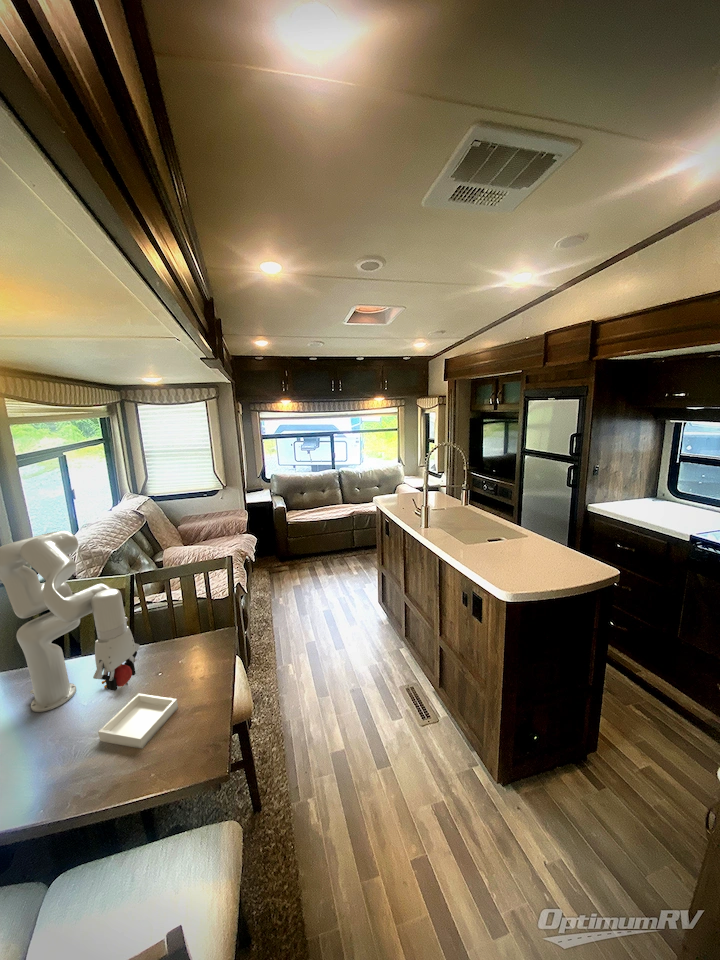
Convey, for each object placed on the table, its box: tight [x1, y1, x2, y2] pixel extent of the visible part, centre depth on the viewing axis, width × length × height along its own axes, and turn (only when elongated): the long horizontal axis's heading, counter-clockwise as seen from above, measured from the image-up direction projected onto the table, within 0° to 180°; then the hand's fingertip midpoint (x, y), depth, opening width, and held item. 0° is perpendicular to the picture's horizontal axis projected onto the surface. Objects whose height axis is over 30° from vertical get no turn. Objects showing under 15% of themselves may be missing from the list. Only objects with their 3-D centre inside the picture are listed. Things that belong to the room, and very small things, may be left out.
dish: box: [98, 693, 179, 750], centre depth 117 cm, size 16×16×4 cm
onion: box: [114, 663, 133, 688], centre depth 112 cm, size 6×6×8 cm
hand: (121, 681), depth 112 cm, fingers closed on onion, 5 cm apart
